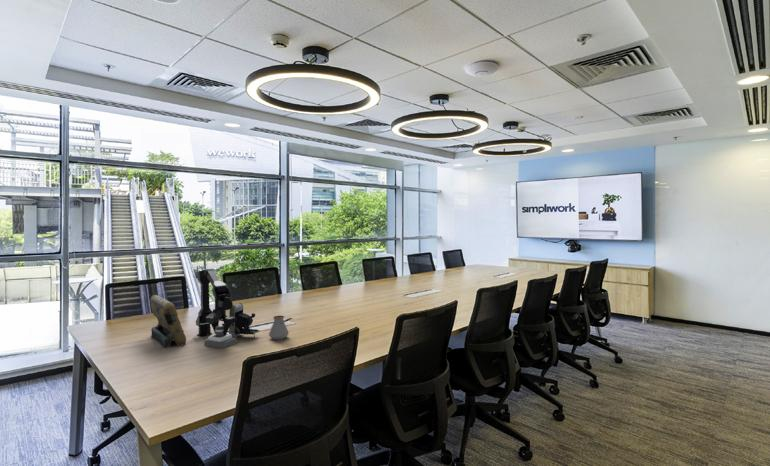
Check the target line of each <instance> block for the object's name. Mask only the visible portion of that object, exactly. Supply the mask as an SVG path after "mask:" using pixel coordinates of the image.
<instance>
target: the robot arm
mask: <svg viewBox="0 0 770 466" xmlns="http://www.w3.org/2000/svg"><path fill="white" fill-rule="evenodd" d="M215 271H216V270H215V269H214V268H213V267H212V268H210V267H209V268H205V269H201V270H198V271H197V272H196V273H195V274H196V279H197V282H198V284H200V310H199V311H198V314H197V318H196V320H195V326H197V327H198V333H196V336H200V337H206V336H209V335H210V336H211V335H213V332H214V333H215V327H216V326H219V325H220V324H219V323H220V322H223V323H221V325H223V329H224V335H226V333H227V334H228V332H229V327H230V326H231V324H232V323H236V318H235V317H228V314H226V313H227V312H226V311H230V309H231V308H232V306H233V305H234V303H233V301H232V300H231V299H230V297H231V292H230V290H229V287H228V285H227V284H226V283H225V282H223V281H221V279H220V278H219V277H218V275H217V273H216V272H215ZM210 284H211V286H212V290H211V292H212V294H213V298H214V309H212V310H211V308H210ZM211 329H213V332H211Z"/></svg>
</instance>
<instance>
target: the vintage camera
mask: <svg viewBox="0 0 770 466" xmlns="http://www.w3.org/2000/svg"><path fill="white" fill-rule="evenodd" d="M228 313H229V315H228V316H229V317H235V318H236V323H232V324H231V326H230V327H229V329H228V334H232V337H233V338H237V337H239V336H240V335H241V336H242V335H253V338H254V339H255V338H256V336H255V334H256V333H258V332H260V331H261V330H259V329H255V328H254V329H253V328H250V326H251V325H252V324H253V322H254V319H253V318H255V317H256V313H254V312H253V313H251V315H250V314H247V313H244V304H243V303H242V302H238V303H237V304H235V305H234V304H233V306H232V308H231V309H229V312H228Z"/></svg>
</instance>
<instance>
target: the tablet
mask: <svg viewBox="0 0 770 466" xmlns="http://www.w3.org/2000/svg"><path fill="white" fill-rule="evenodd" d="M149 301H150V309H151V312H152V313H153V316H154V317H156V319H157V321H158V322H157V324H156V326H153V327H151V335H150V336H151V338H152V339H154V340H155V341H156V343H159V344H160V346H162V347H163V348H170V347H171V346H172V342H173V341H174V343H175V344H176V345H177V346H185V345H186V344H187V338H186V335H185V331H184V328H183V327H182V325H181V320H180V319H179V314H178V312H177V309H176V306H175V304H174V303H173V302H171V301H169V300H167V299H166V298H163V297H162V296H160V295H158V294H153V295H152V296H151V297H150V300H149Z"/></svg>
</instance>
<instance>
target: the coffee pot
mask: <svg viewBox="0 0 770 466" xmlns="http://www.w3.org/2000/svg"><path fill="white" fill-rule="evenodd" d="M272 318H273V320H274V321H273V323H272V325H271V327H270V331H269V333H268V335H269V337H270V338H271V339H272V340H276V341H281V340H284V339H286V338H287V337H288V336H289V333H290V332H289V330H288V327H287V326H286V322H289V321H292V320H294V318H293V317H288V318H287V319H284V318H285V316H284V315H275V316H273V317H272Z"/></svg>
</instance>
